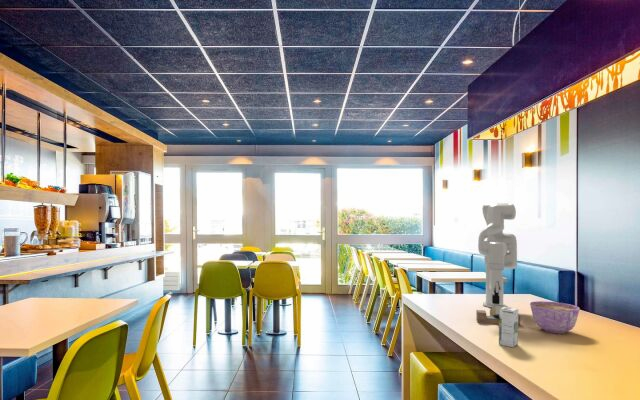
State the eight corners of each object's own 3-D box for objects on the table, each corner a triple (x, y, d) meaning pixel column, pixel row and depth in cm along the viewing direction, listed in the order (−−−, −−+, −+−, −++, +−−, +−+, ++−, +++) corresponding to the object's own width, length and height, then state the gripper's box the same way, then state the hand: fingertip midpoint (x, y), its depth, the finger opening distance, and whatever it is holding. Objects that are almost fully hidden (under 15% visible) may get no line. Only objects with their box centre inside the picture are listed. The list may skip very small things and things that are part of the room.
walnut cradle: (476, 319, 216) (476, 309, 217) (517, 323, 212) (517, 312, 212) (477, 322, 211) (477, 312, 211) (519, 325, 206) (520, 315, 206)
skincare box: (501, 310, 221) (508, 306, 210) (502, 319, 219) (509, 315, 208) (488, 309, 222) (494, 305, 211) (489, 318, 220) (495, 314, 209)
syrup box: (503, 341, 178) (503, 306, 178) (518, 344, 174) (518, 308, 175) (498, 344, 173) (498, 308, 174) (514, 347, 170) (514, 310, 170)
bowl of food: (587, 338, 186) (587, 311, 186) (536, 335, 190) (536, 308, 190) (570, 327, 205) (570, 302, 206) (524, 324, 209) (524, 300, 210)
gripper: (486, 265, 227) (486, 300, 226) (489, 268, 213) (489, 305, 212) (501, 265, 225) (501, 301, 224) (506, 268, 211) (506, 306, 210)
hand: (495, 303), depth 218 cm, fingers closed
